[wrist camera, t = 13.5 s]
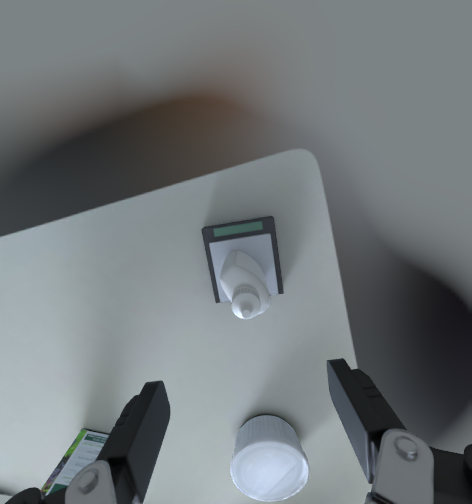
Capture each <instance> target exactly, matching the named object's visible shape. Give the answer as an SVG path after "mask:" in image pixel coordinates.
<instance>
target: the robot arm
mask: <svg viewBox="0 0 472 504" xmlns="http://www.w3.org/2000/svg"><path fill="white" fill-rule="evenodd" d="M327 372H328V383H329V391H330V395H331V399H332V401H333V404H334V406H335V408H336V411H337V413H338V415H339V417H340V420H341V422H342V424H343V426H344V429H345V431H346V433H347V435H348V438H349V440H350V442H351V444H352V447H353V449H354V451H355V453H356V456H357V458H358V460H359V463H360V465H361V467H362V469H363V472H364V474H365V476H366V478H367V481H368V483H369V484H373V485H372V490H371V493H370V492H368V494H367V496H366V500H365V504H472V444H471V445H468V446H467V447H466V448H465V450H464V455H463V454H458V453H453V452H448V451H443V450H439V449H435V448H432V447H429V446H428V445H427V444H426V443H425V442H424V441H423V440H422V439H421V438H419V437H418V436H417V435H415V434H413V433H411V432H409V431H407V429H406V428H405V427H404V425H403V424H402V422H401V421H400V420H399V418H398V417H397V415H396V414H395V413H394V411H393V410H392V408H391V407H390V406H389V405H388V403H387V401H386V400H385V399H384V397H383V396H382V394H381V393H380V391H379V390H378V389H377V388H376V386H375V385H374V383H373V382H372V380H371V379H370V377H369V376H368V375H366V374H365V373H363V372H362V371H361V370H359V369H353V370H351V369H350V367H349V366H348V364H347V363H346V361H345V360H344V359H343V358H342V359H334V360H327ZM169 420H170V405H169V401H168V397H167V393H166V390H165V386H164V383H163V381H153V382H147V383H145V385H144V387H143V389H142V390H141V392H140V394H139V395H135V396H134V397H133V398H132V399H131V400H130V401H129V402H128V403H127V404H126V406H125V408H124V409H123V411H122V413H121V415H120V418H118V420H117V422H116V424H115V427H113V429H112V431H111V433H110V435H109V436H108V438H107V440H106V442H105V444H104V445H103V447H102V449H101V451H100V453H99V455H98V456H97V458H96V460H95V461H94V462H92V463H90V464H88V465H87V466H85V467H84V468H82V469H81V470H80V471H79V472H78V473H77V474H76V475H75V476H74V478H73V479H72V480H71V482H70V483H69V485H68V486H67V487H64V488H62V489H60V490H57V491H55V492H53V493H50V494H48V495H46V496H44V497H43V496H42V493H41V491H40V490H39V489H38V488H35V487H34V488H28V489H26V490H23V491H21V492H19V493H18V494H16V495H15V496H13V497H12V498H11V499H10V500H8V501H7V502H6V503H5V504H143V501H144V498H145V495H146V492H147V489H148V485H149V482H150V479H151V476H152V473H153V470H154V467H155V464H156V460H157V457H158V454H159V451H160V448H161V445H162V442H163V439H164V436H165V432H166V429H167V426H168V423H169Z"/></svg>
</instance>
